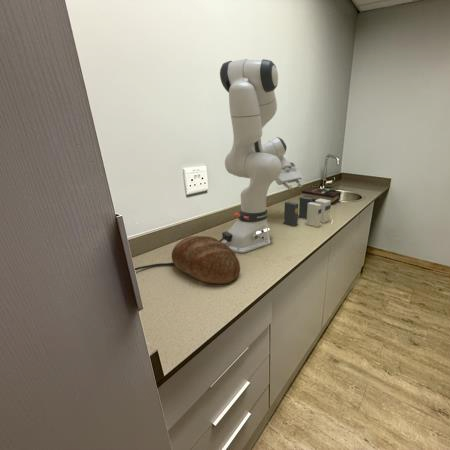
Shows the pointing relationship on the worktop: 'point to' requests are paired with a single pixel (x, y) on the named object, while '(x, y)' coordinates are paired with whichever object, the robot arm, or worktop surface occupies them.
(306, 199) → the grey book right
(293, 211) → the grey book left
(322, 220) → the white book
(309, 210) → the white book
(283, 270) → the worktop surface
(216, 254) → the bread
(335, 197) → the decorative book
